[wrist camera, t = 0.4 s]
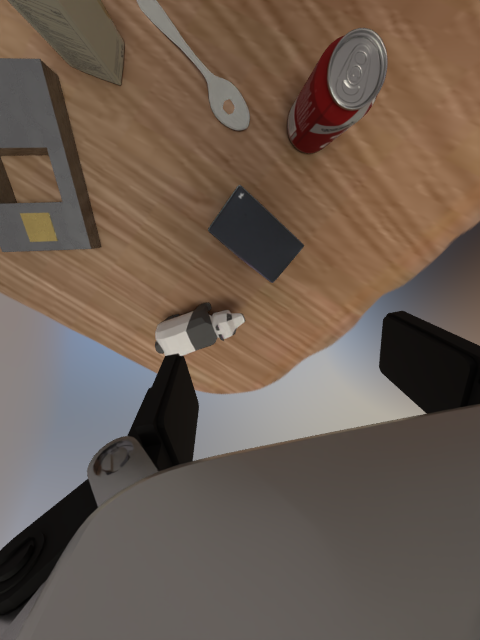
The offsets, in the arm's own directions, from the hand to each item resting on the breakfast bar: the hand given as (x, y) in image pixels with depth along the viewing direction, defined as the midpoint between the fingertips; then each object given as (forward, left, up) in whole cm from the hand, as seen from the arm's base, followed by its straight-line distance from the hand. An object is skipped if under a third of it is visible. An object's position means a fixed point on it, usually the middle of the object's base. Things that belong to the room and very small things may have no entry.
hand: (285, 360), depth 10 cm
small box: (-5, +2, -30) cm, 30 cm away
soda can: (-19, +11, -30) cm, 37 cm away
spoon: (-26, -5, -30) cm, 40 cm away
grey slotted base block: (-14, -27, -30) cm, 43 cm away
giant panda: (+9, -7, -30) cm, 32 cm away
